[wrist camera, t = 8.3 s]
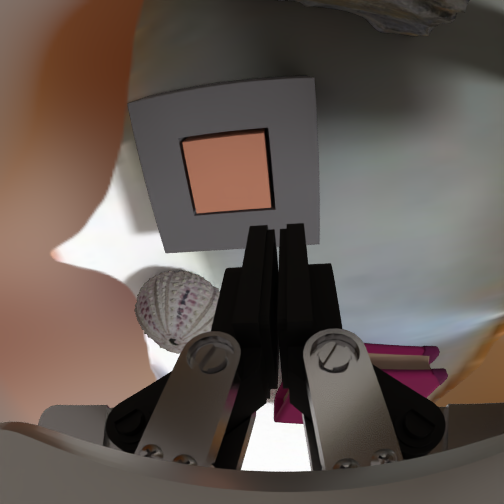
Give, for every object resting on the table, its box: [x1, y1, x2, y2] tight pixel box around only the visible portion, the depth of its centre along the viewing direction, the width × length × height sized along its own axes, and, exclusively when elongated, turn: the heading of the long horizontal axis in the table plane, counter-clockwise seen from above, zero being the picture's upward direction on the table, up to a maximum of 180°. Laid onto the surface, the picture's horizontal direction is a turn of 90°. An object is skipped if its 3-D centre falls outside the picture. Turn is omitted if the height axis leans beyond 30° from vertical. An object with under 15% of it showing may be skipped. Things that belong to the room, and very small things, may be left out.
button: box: [182, 128, 271, 213], centre depth 28 cm, size 7×7×3 cm
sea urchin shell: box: [135, 271, 220, 354], centre depth 41 cm, size 13×14×8 cm
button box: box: [128, 75, 320, 253], centre depth 29 cm, size 16×16×6 cm
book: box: [274, 343, 448, 424], centre depth 51 cm, size 21×28×8 cm
